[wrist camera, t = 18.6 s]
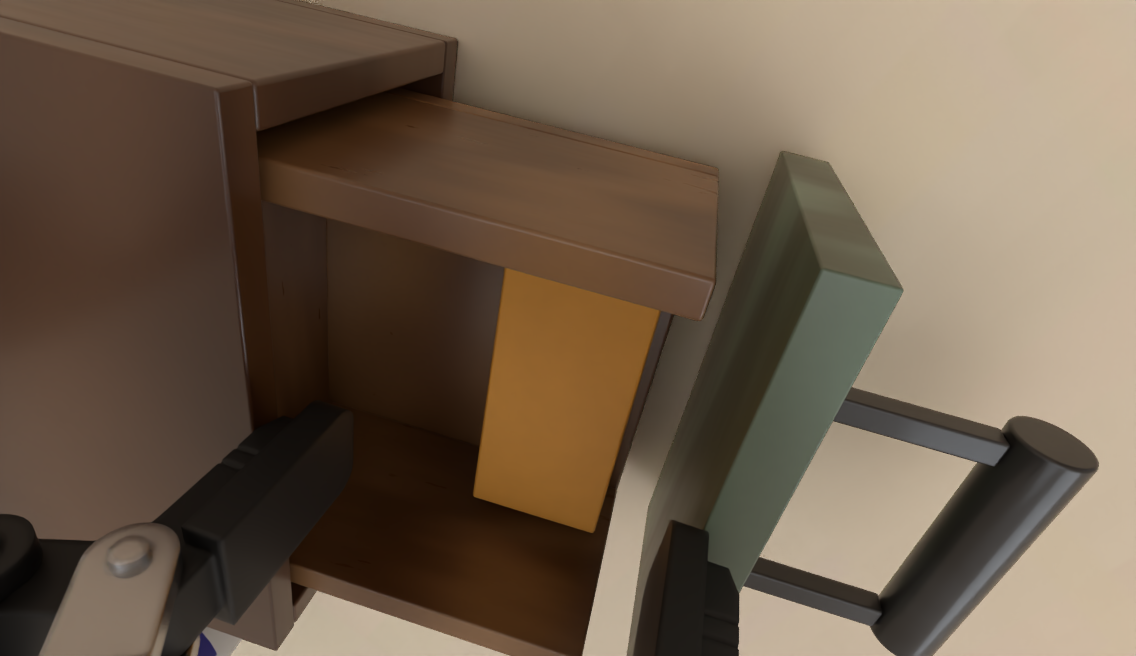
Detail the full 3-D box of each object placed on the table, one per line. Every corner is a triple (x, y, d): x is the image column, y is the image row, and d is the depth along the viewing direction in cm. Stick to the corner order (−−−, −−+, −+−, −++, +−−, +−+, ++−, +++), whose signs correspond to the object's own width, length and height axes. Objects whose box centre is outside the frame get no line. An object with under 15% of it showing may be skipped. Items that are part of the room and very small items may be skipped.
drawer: (1076, 223, 14) (1345, 406, 8) (846, 567, 21) (897, 813, 15) (318, 35, 16) (64, 68, 10) (327, 408, 23) (177, 567, 17)
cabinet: (458, 38, 16) (216, 88, 8) (424, 432, 23) (276, 652, 16) (-20, -77, 18) (-605, -125, 10) (87, 328, 25) (-201, 485, 17)
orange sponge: (610, 463, 20) (593, 535, 17) (503, 431, 20) (471, 497, 17) (678, 234, 15) (669, 283, 13) (542, 199, 16) (507, 241, 13)
